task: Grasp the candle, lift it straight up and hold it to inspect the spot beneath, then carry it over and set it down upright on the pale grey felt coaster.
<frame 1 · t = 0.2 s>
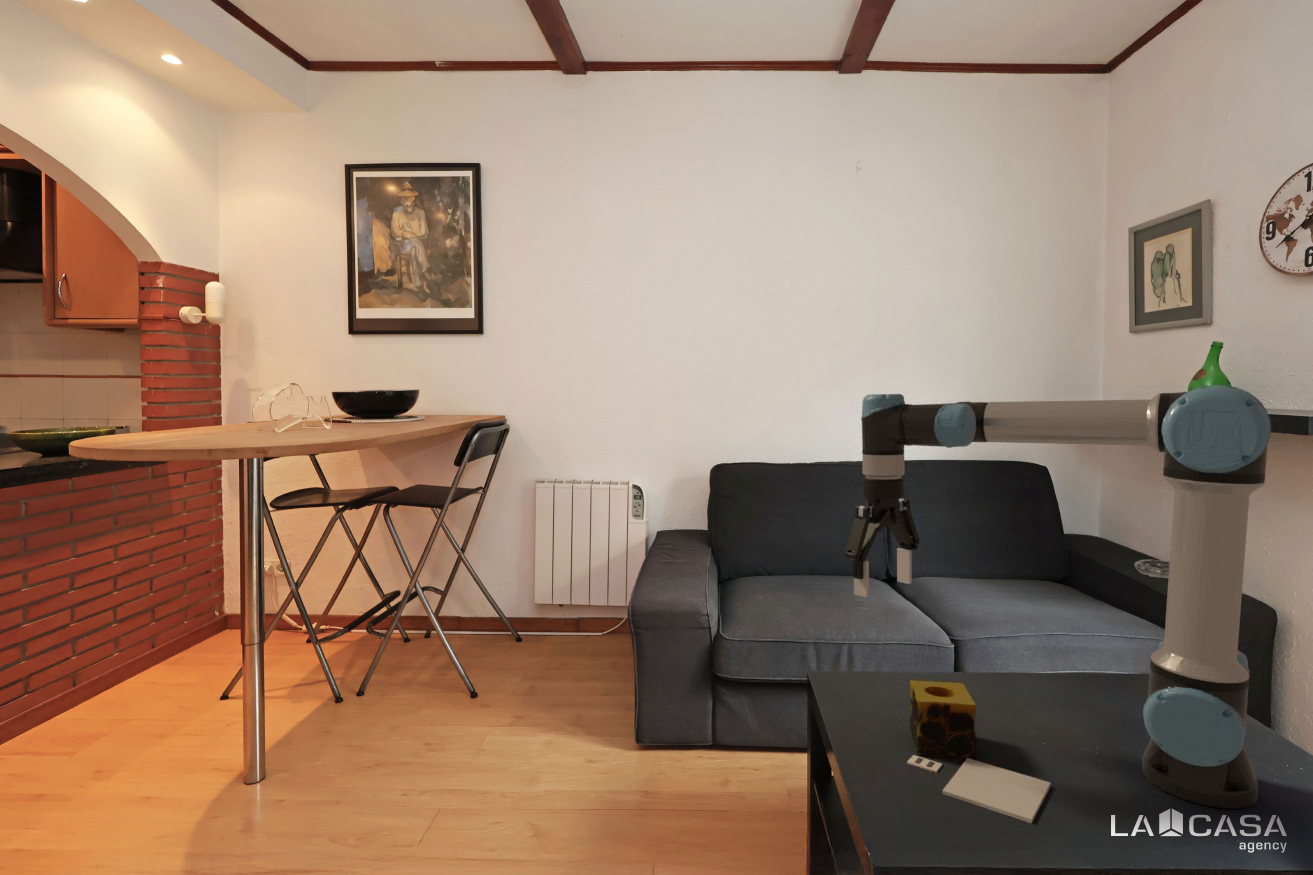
hand: (883, 588, 138), 27 cm above the table, fingers open, 13 cm apart
code tag: (924, 764, 127), on the table
candle: (941, 746, 133), on the table
coaster: (996, 789, 118), on the table
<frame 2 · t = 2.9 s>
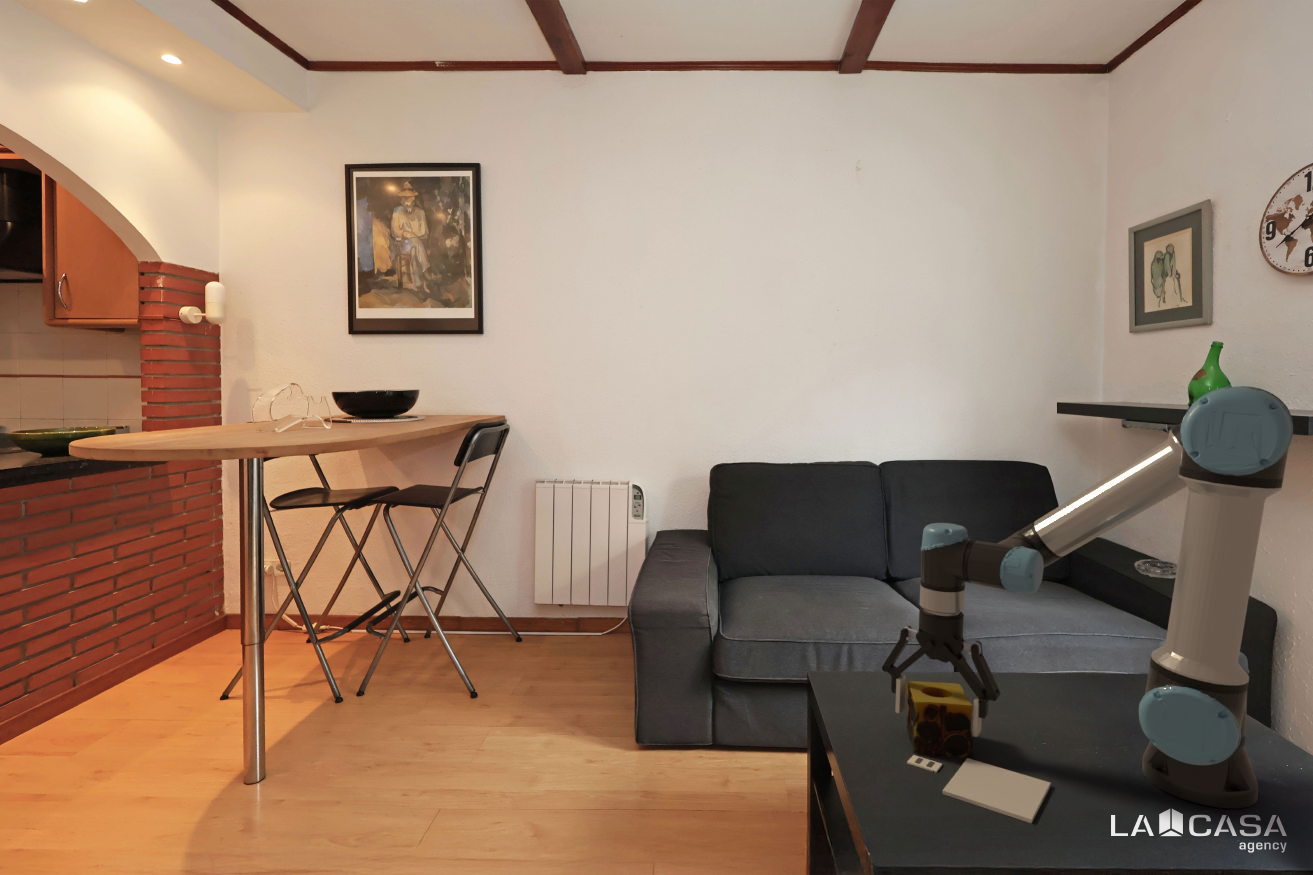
hand: (937, 722, 134), 4 cm above the table, fingers open, 13 cm apart
candle: (938, 746, 134), on the table, touching gripper
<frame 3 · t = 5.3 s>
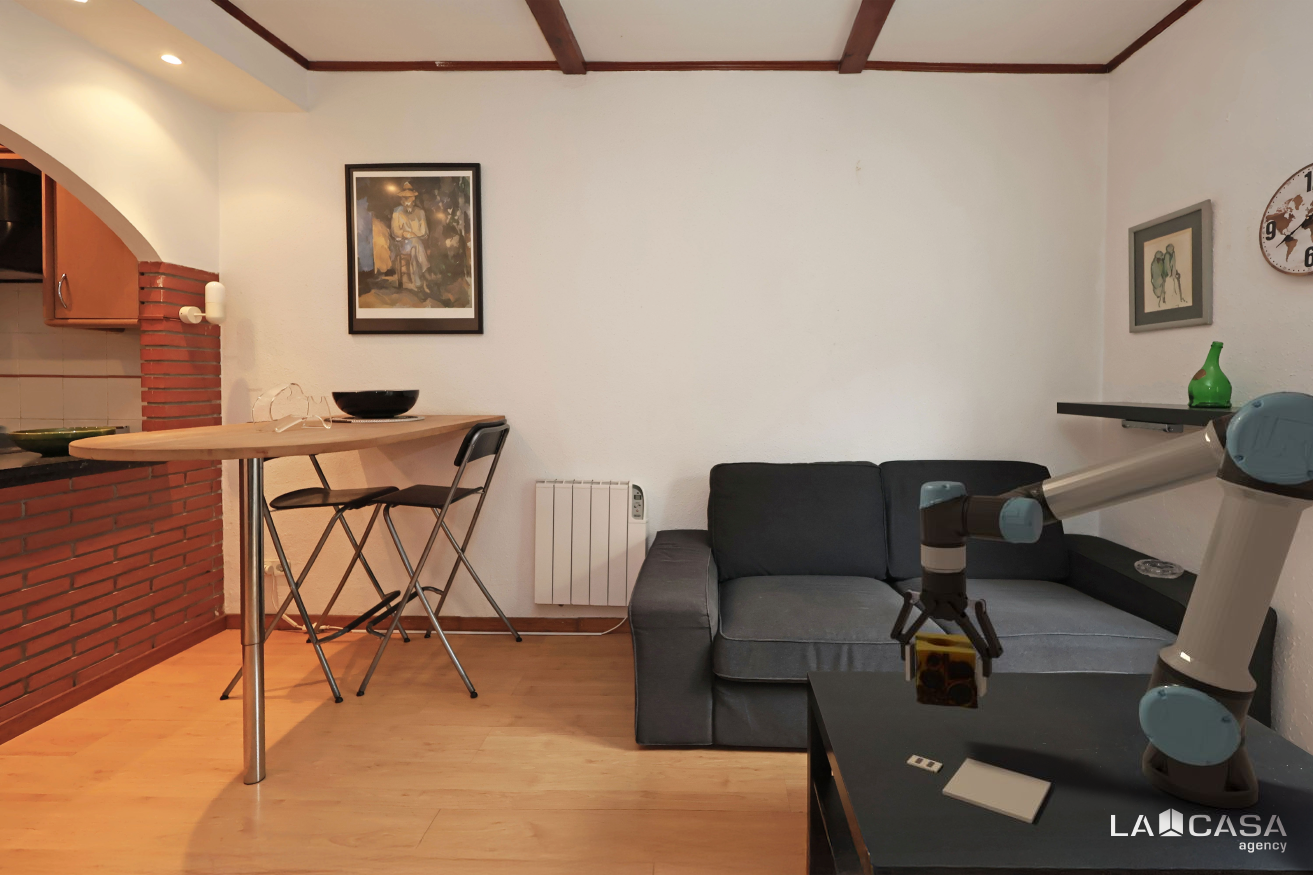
hand: (945, 685, 132), 11 cm above the table, fingers closed on candle, 12 cm apart
candle: (945, 697, 133), point 9 cm above the table, touching gripper
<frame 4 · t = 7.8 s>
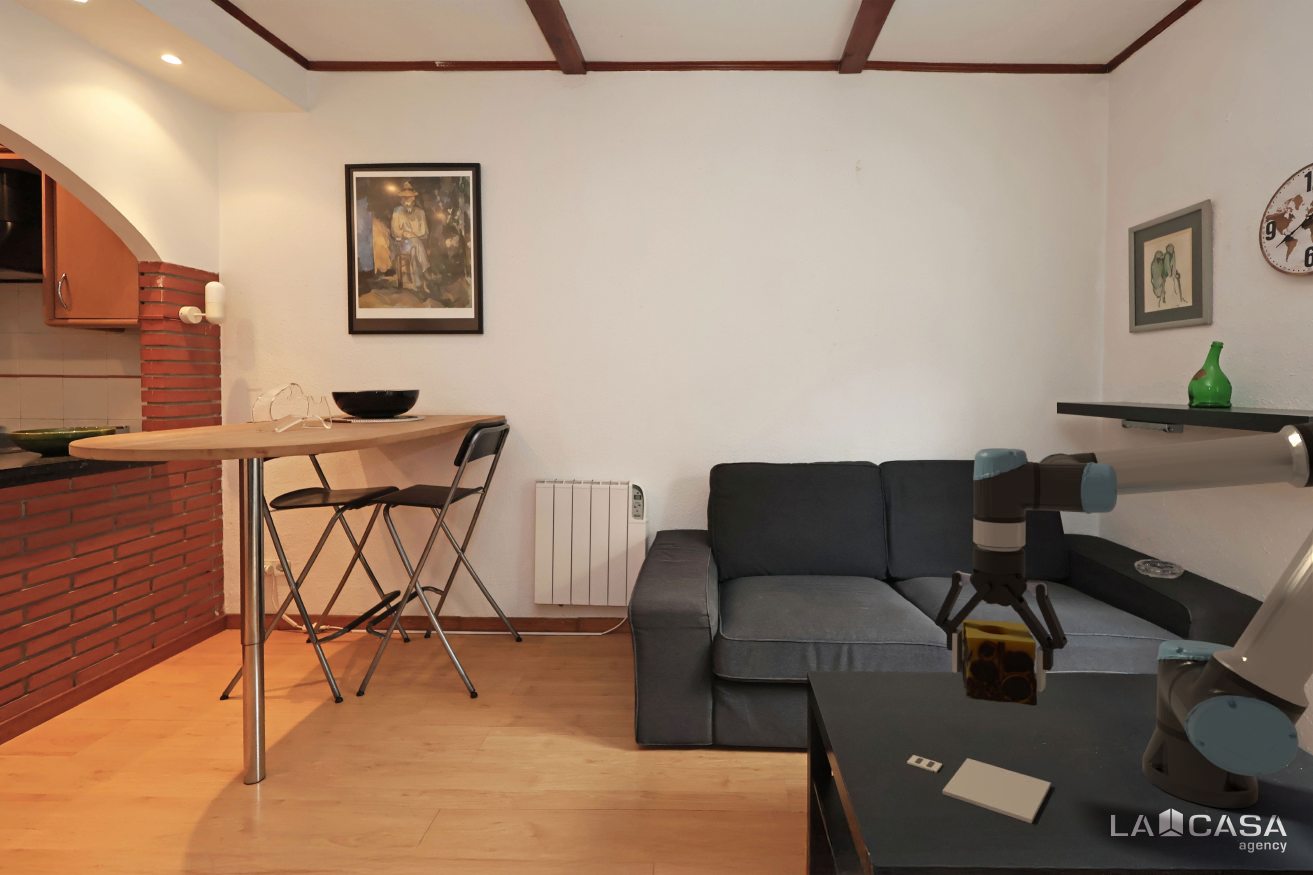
hand: (997, 679, 117), 18 cm above the table, fingers closed on candle, 12 cm apart
candle: (997, 691, 118), point 16 cm above the table, touching gripper
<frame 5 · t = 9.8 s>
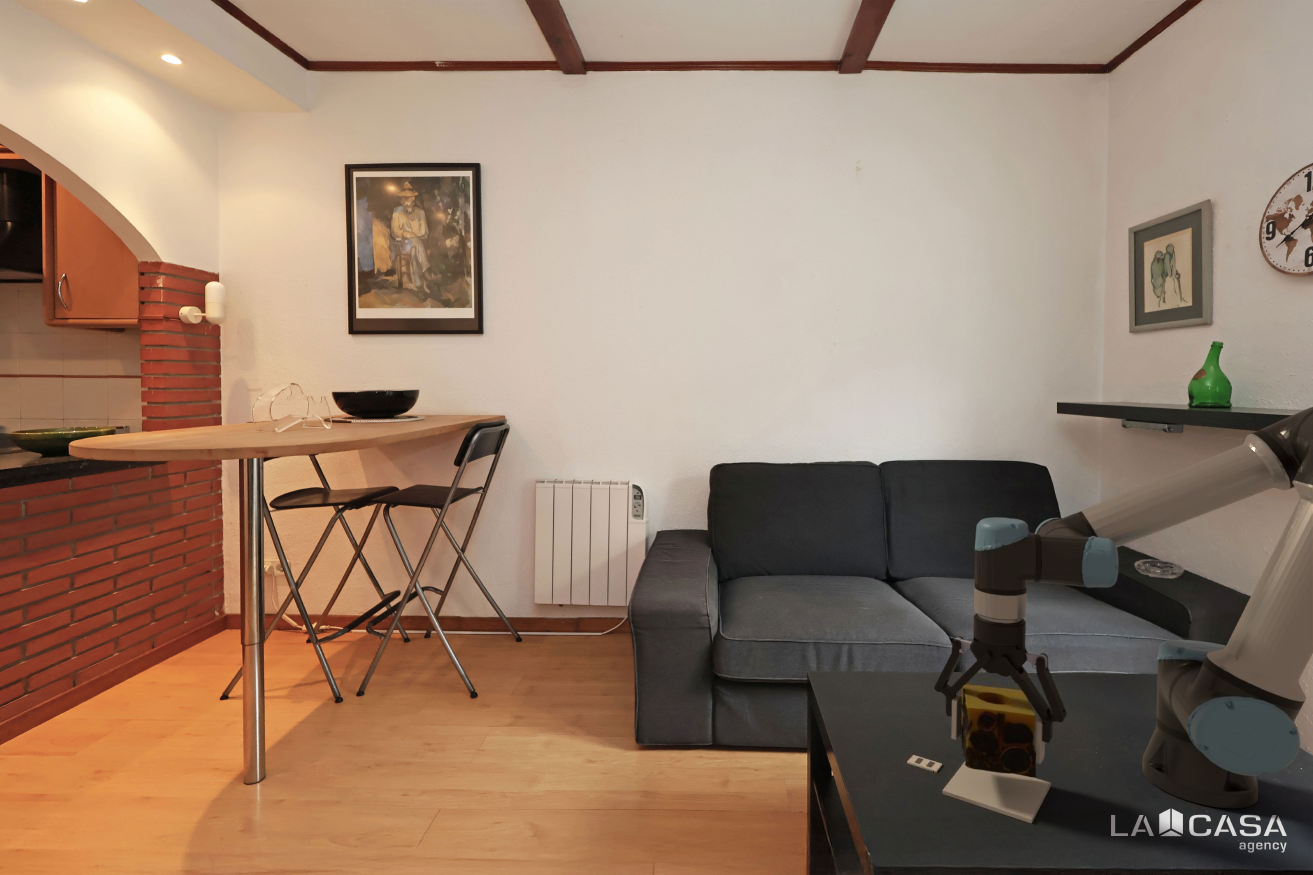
hand: (996, 747, 118), 7 cm above the table, fingers closed on candle, 12 cm apart
candle: (996, 759, 118), point 5 cm above the table, touching gripper
when the fingers open (4 cm above the table, at t = 11.6 s): candle drops 1 cm, resting on coaster.
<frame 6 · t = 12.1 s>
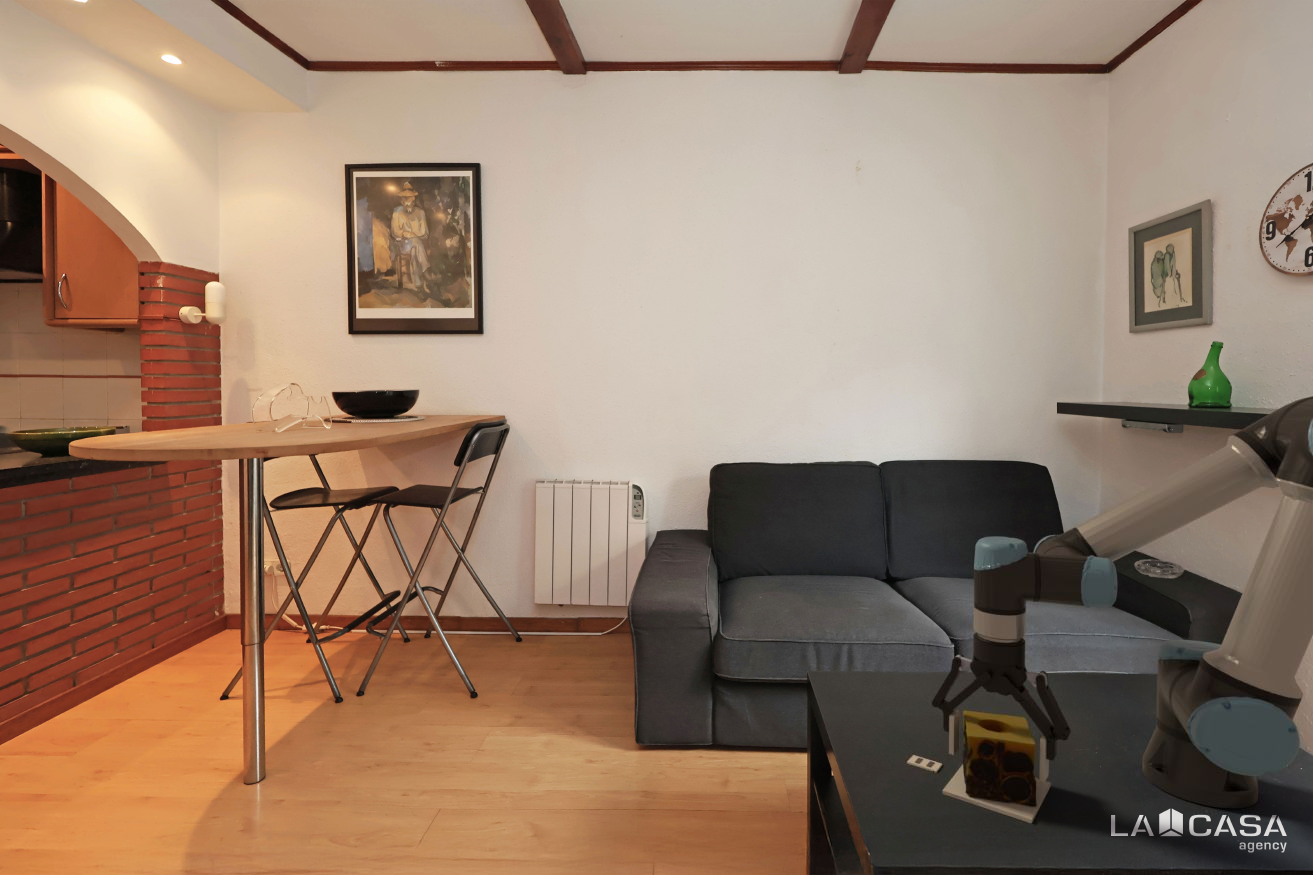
hand: (997, 764, 118), 4 cm above the table, fingers open, 13 cm apart
candle: (997, 787, 118), resting on coaster
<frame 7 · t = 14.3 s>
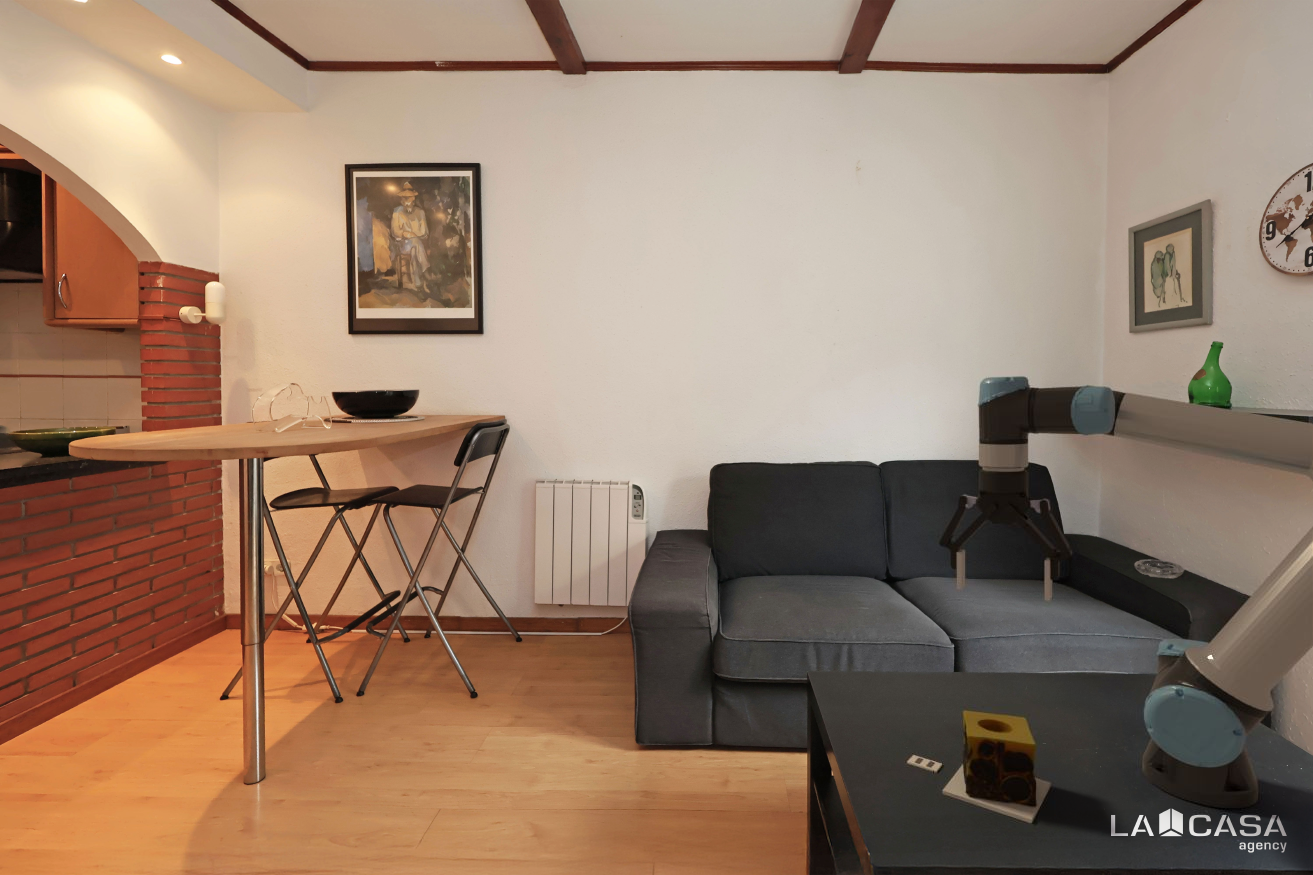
hand: (1003, 593, 124), 30 cm above the table, fingers open, 13 cm apart
nothing on the table moved.
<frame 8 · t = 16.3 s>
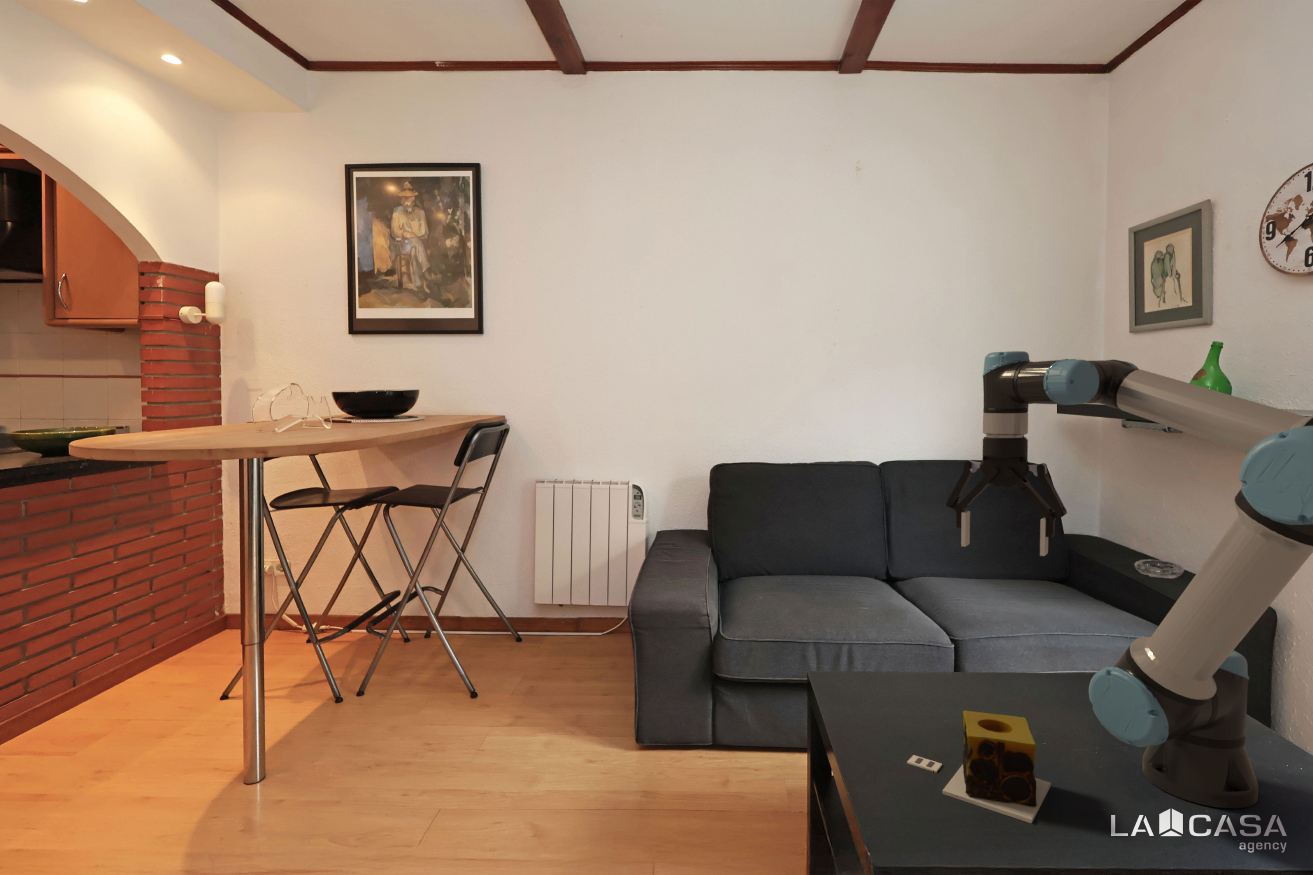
hand: (1003, 549, 136), 35 cm above the table, fingers open, 13 cm apart
nothing on the table moved.
at the end: candle inside the target area on the coaster (0.1 cm from its centre), point 0.4 cm above the coaster's base; candle tilted 0°; the gripper is holding nothing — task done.
